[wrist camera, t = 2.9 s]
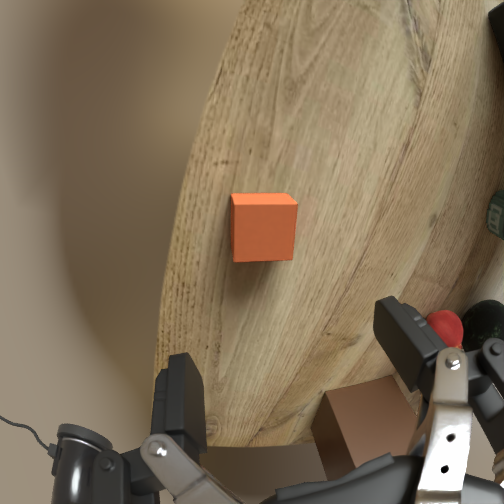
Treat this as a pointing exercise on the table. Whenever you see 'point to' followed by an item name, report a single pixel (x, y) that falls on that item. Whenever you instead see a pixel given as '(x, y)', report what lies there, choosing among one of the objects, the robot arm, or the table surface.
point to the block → (262, 226)
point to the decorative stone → (482, 324)
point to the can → (496, 215)
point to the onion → (447, 327)
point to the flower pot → (498, 25)
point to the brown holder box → (362, 425)
